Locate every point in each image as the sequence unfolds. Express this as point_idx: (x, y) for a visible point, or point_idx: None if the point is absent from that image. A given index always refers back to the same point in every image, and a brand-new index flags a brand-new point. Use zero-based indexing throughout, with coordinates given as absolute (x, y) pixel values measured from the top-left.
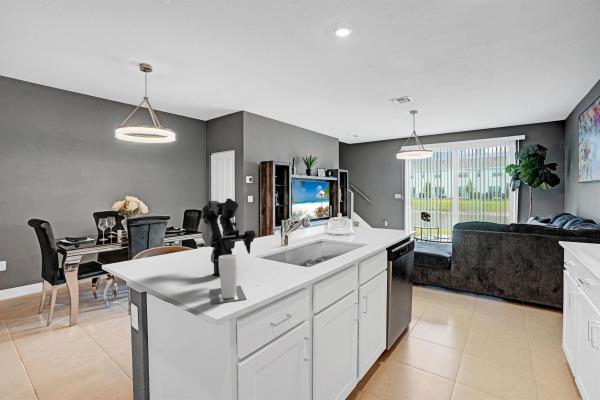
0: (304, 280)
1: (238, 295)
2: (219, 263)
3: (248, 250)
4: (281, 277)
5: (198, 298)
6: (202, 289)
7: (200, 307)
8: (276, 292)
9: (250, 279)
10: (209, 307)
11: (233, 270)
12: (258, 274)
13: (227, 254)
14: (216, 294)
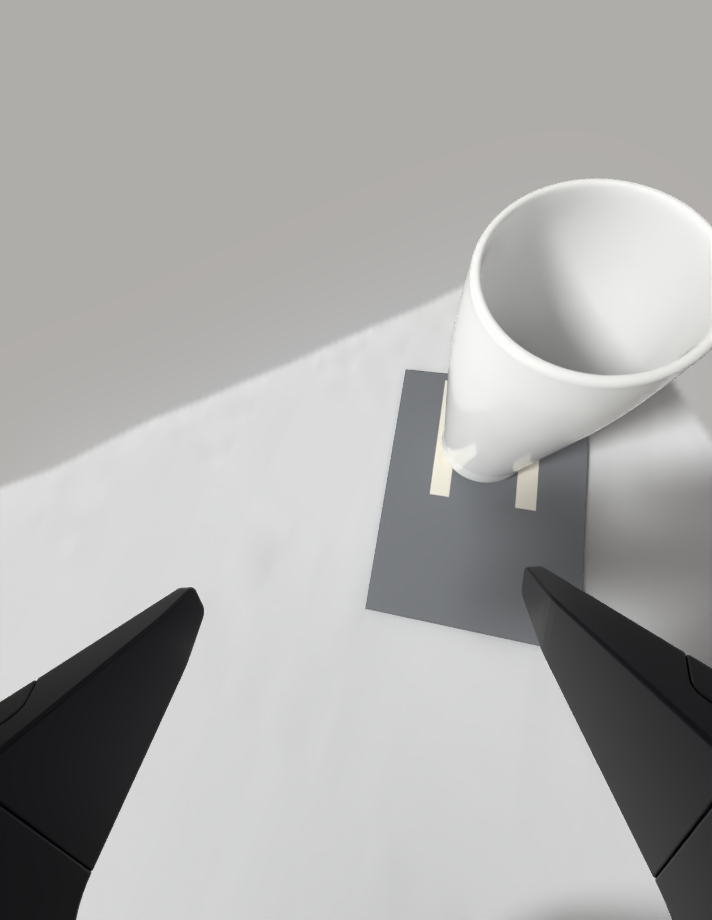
0: (12, 490)
1: (429, 434)
2: (676, 295)
3: (175, 613)
4: (64, 632)
5: (663, 525)
6: None
7: None
8: (236, 392)
9: (248, 730)
10: None
11: (502, 294)
12: (138, 835)
13: (545, 574)
14: (548, 519)
